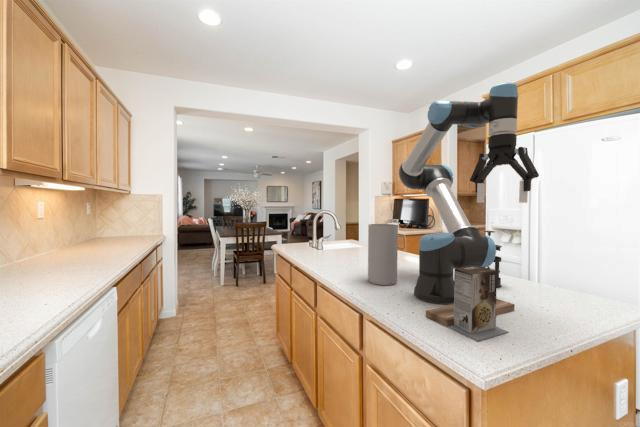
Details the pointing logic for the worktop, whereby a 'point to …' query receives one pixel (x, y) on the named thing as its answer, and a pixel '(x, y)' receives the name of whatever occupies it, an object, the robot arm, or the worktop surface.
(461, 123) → the robot arm
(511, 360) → the worktop surface
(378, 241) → the cylinder vase
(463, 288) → the coffee box
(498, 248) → the french press
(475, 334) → the end pad
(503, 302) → the walnut board
